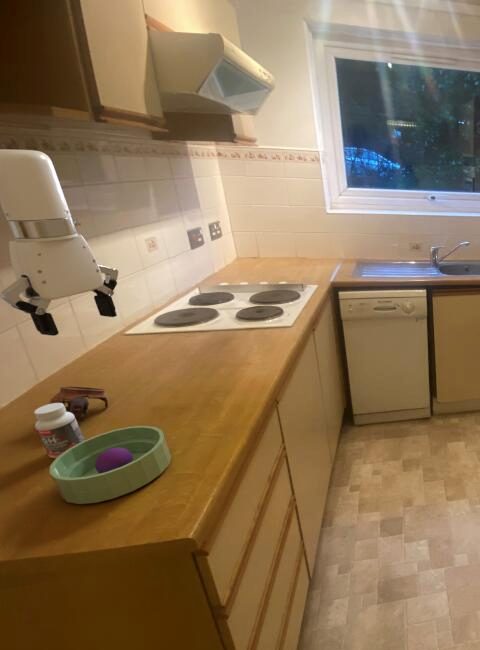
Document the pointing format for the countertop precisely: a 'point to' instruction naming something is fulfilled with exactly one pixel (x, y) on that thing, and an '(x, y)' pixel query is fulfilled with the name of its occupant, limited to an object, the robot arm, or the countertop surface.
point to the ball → (112, 459)
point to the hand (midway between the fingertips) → (81, 324)
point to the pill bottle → (57, 429)
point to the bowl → (91, 487)
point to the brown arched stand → (78, 399)
